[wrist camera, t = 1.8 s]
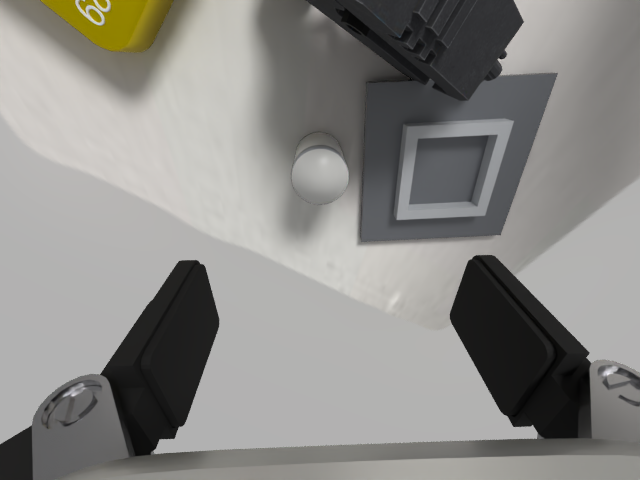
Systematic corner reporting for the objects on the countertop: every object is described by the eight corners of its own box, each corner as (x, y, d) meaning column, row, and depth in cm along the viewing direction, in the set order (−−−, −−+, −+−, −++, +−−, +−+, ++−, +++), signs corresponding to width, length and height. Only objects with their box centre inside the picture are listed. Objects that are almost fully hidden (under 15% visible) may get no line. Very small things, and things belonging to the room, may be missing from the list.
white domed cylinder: (342, 130, 30) (349, 147, 24) (342, 178, 33) (348, 203, 27) (292, 133, 30) (287, 150, 24) (297, 180, 33) (293, 206, 27)
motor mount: (550, 72, 27) (569, 73, 25) (496, 231, 37) (507, 241, 35) (366, 82, 27) (370, 84, 25) (360, 237, 37) (363, 248, 35)
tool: (259, -153, 18) (418, -250, 9) (420, 17, 30) (555, 51, 21) (230, -36, 21) (328, -17, 12) (388, 76, 33) (495, 127, 24)
